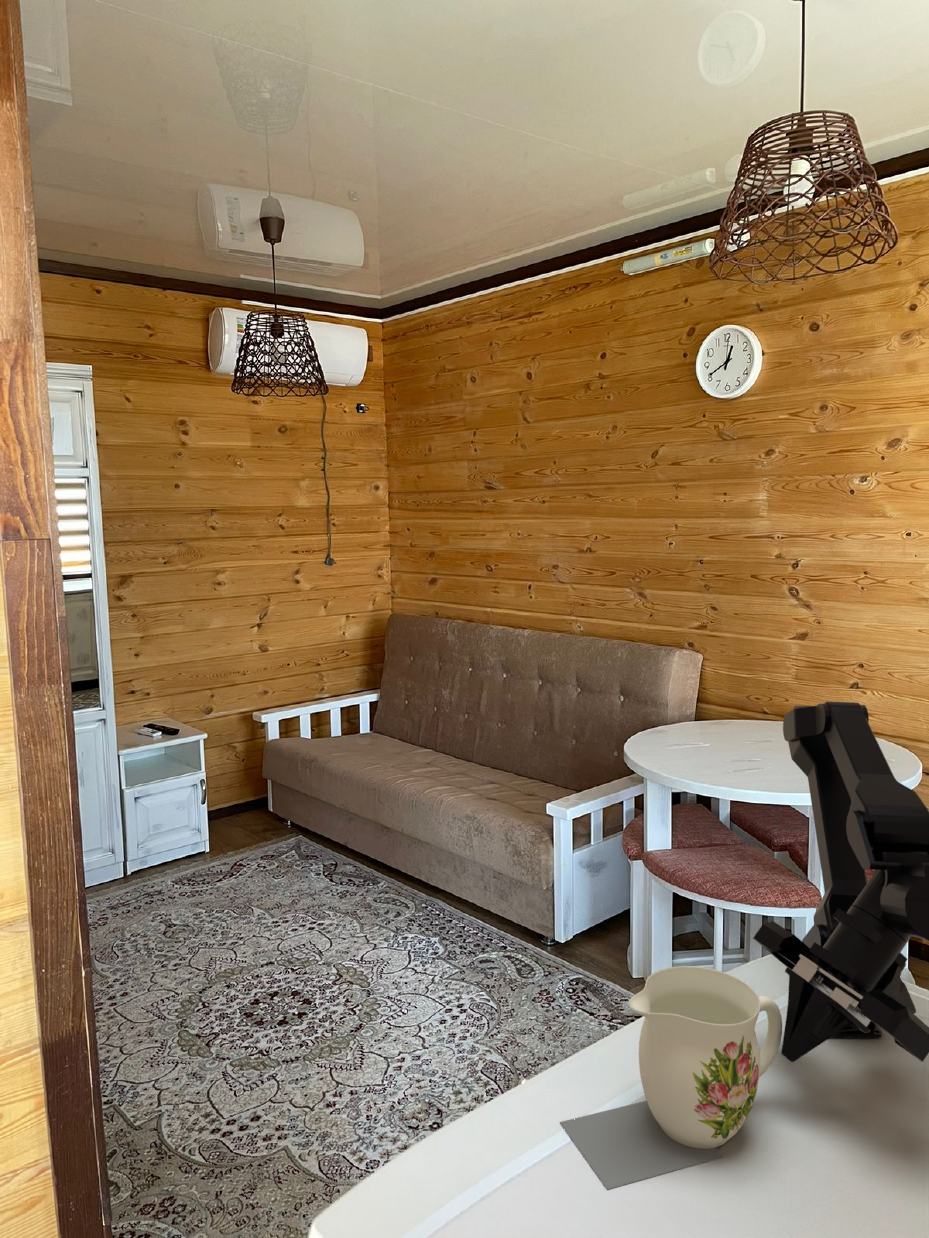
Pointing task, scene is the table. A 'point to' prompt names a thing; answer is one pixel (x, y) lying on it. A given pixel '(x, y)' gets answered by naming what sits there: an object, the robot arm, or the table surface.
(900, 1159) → the table surface
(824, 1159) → the table surface
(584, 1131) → the slate pad
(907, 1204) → the table surface
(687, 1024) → the pitcher
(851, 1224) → the table surface
